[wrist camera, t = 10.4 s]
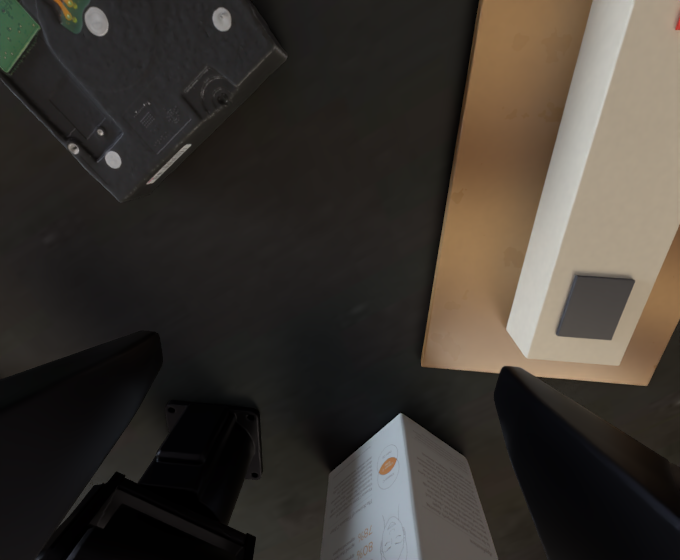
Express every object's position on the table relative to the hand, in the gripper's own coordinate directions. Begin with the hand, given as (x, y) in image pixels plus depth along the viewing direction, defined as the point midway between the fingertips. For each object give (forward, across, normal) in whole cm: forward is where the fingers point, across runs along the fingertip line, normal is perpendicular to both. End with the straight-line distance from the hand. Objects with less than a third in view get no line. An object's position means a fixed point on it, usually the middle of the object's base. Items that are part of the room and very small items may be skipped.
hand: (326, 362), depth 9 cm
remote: (+10, -11, -4) cm, 16 cm away
